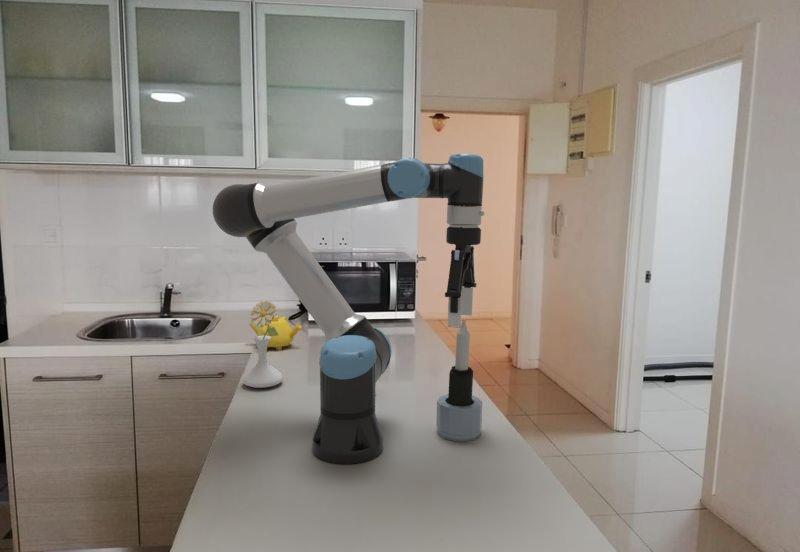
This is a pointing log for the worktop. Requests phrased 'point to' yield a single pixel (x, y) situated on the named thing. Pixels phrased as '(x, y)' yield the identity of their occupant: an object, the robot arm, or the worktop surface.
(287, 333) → the teapot
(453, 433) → the pale blue faceted cup
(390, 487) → the worktop surface
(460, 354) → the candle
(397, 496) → the worktop surface
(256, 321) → the flower in vase
